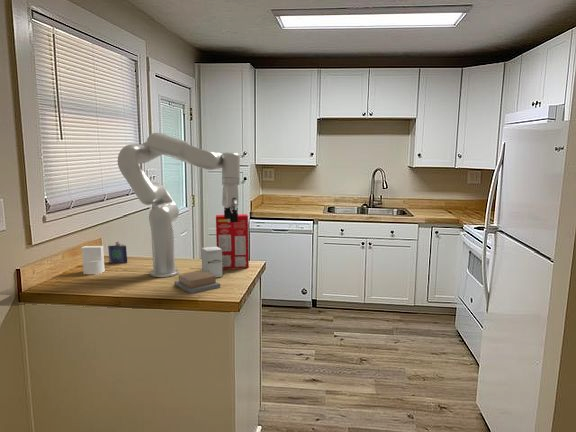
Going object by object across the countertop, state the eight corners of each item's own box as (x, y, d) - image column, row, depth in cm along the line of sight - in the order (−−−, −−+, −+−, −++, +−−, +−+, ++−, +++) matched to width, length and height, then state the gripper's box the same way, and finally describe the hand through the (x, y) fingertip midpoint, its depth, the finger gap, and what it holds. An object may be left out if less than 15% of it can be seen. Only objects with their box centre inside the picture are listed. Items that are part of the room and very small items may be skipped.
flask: (108, 263, 218) (106, 242, 217) (111, 261, 221) (109, 240, 220) (126, 263, 217) (124, 242, 216) (128, 262, 220) (127, 241, 219)
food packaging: (247, 265, 214) (247, 214, 210) (248, 268, 209) (247, 215, 205) (217, 266, 212) (215, 215, 208) (217, 269, 207) (215, 216, 203)
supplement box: (206, 279, 191) (205, 250, 189) (201, 275, 197) (200, 247, 195) (223, 277, 194) (222, 249, 192) (217, 273, 201) (216, 245, 199)
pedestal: (174, 284, 183) (174, 274, 182) (202, 279, 191) (202, 269, 190) (191, 293, 171) (190, 282, 171) (220, 287, 180) (220, 276, 179)
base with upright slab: (107, 269, 207) (106, 244, 205) (100, 274, 198) (98, 248, 196) (88, 269, 207) (86, 244, 205) (80, 275, 198) (78, 249, 196)
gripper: (217, 180, 197) (217, 217, 200) (227, 183, 181) (227, 224, 184) (233, 179, 200) (233, 217, 203) (245, 182, 184) (244, 223, 187)
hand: (230, 220), depth 193 cm, fingers open, 9 cm apart
